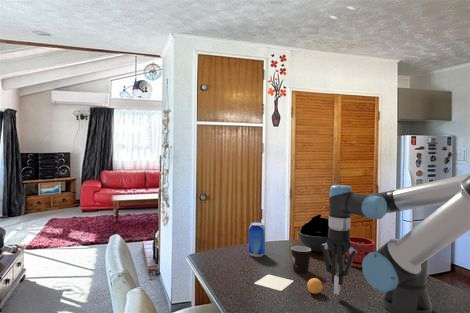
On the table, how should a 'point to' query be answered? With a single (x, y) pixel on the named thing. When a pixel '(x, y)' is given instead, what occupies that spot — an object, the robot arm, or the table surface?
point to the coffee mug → (300, 259)
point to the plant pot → (360, 250)
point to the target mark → (274, 282)
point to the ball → (314, 285)
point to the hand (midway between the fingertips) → (336, 292)
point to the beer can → (256, 239)
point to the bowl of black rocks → (315, 233)
